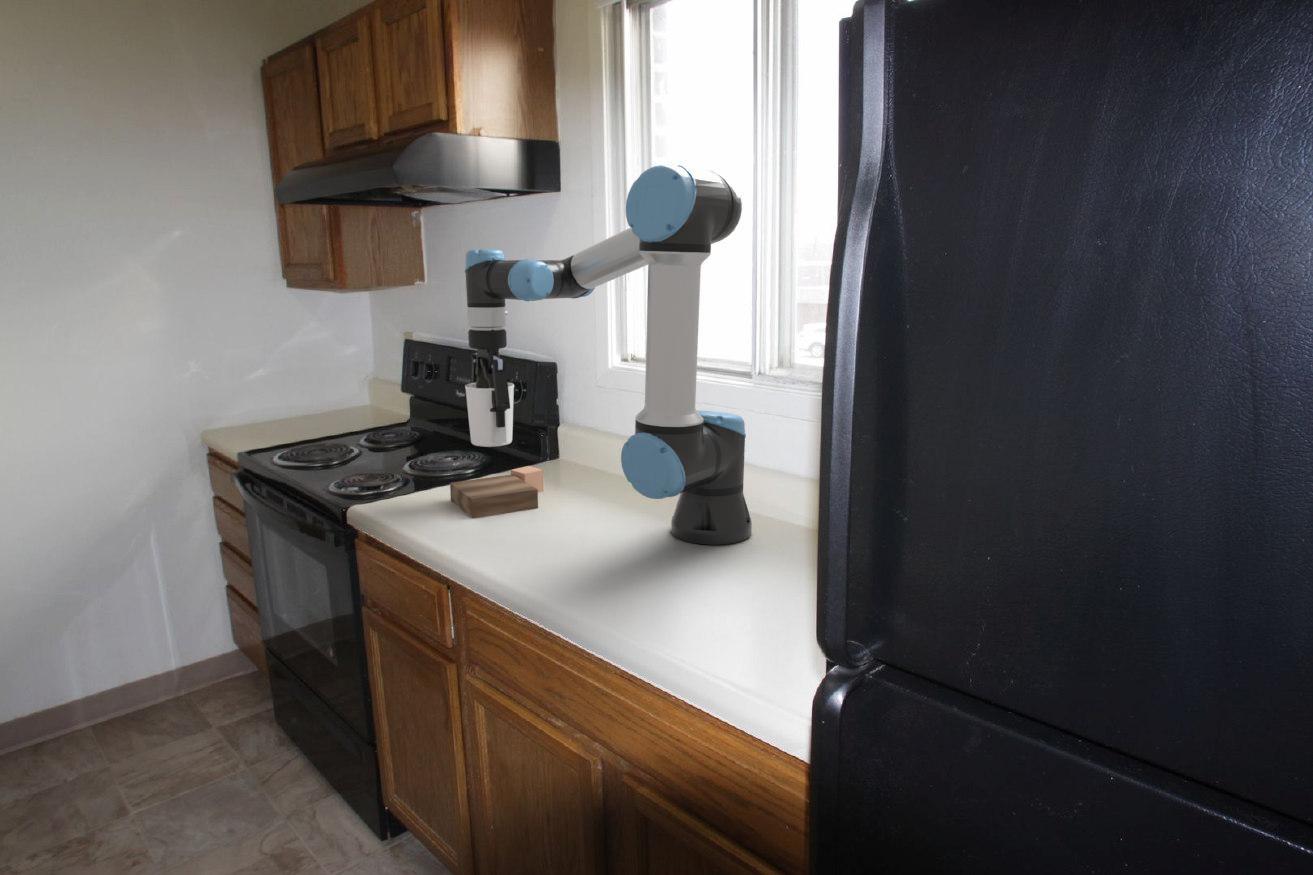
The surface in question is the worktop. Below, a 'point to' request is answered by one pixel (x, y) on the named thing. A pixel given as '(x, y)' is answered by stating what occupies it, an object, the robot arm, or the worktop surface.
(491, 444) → the white cup
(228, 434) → the worktop surface
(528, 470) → the terracotta cube
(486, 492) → the walnut slab
